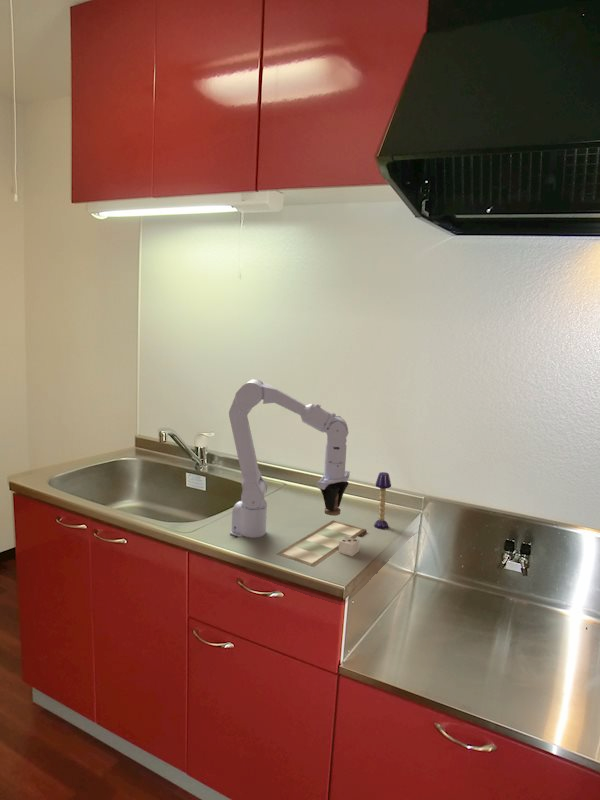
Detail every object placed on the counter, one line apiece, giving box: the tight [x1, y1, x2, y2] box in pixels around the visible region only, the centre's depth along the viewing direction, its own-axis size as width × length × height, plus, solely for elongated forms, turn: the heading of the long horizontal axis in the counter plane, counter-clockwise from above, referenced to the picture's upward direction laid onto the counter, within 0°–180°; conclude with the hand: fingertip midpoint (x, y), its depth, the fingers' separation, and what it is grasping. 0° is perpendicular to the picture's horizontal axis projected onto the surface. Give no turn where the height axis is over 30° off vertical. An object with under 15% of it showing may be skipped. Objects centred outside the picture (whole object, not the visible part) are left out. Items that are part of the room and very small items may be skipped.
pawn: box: [324, 493, 341, 517], centre depth 146 cm, size 4×4×6 cm
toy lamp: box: [373, 471, 392, 530], centre depth 158 cm, size 5×5×17 cm
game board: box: [276, 519, 367, 568], centre depth 144 cm, size 11×30×1 cm, turn 147°
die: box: [337, 536, 360, 557], centre depth 138 cm, size 4×4×4 cm
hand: (332, 507), depth 146 cm, fingers closed on pawn, 3 cm apart
